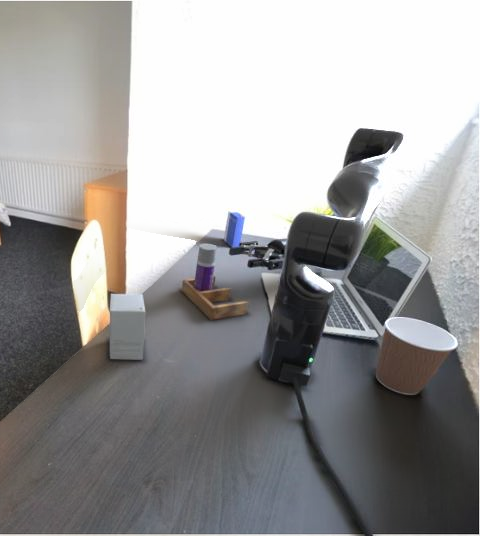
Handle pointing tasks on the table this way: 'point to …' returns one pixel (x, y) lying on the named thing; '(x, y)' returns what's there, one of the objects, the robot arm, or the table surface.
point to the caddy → (213, 300)
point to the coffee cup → (411, 354)
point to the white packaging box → (127, 326)
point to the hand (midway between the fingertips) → (238, 257)
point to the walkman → (234, 228)
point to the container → (205, 267)
